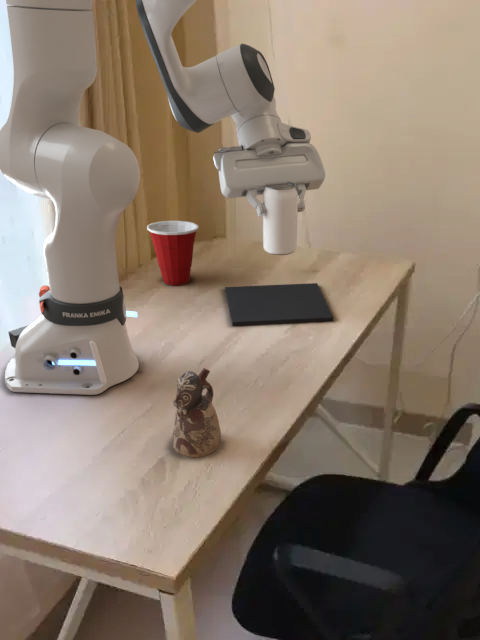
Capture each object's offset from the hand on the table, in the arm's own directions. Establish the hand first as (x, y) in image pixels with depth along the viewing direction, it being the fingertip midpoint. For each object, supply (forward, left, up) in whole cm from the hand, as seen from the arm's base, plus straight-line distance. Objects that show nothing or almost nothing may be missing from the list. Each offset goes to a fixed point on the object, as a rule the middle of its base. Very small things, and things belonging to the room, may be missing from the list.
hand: (282, 212), depth 139 cm
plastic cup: (-20, +19, -20) cm, 34 cm away
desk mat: (0, +3, -19) cm, 20 cm away
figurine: (-19, -47, -20) cm, 55 cm away
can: (0, +1, -7) cm, 7 cm away
